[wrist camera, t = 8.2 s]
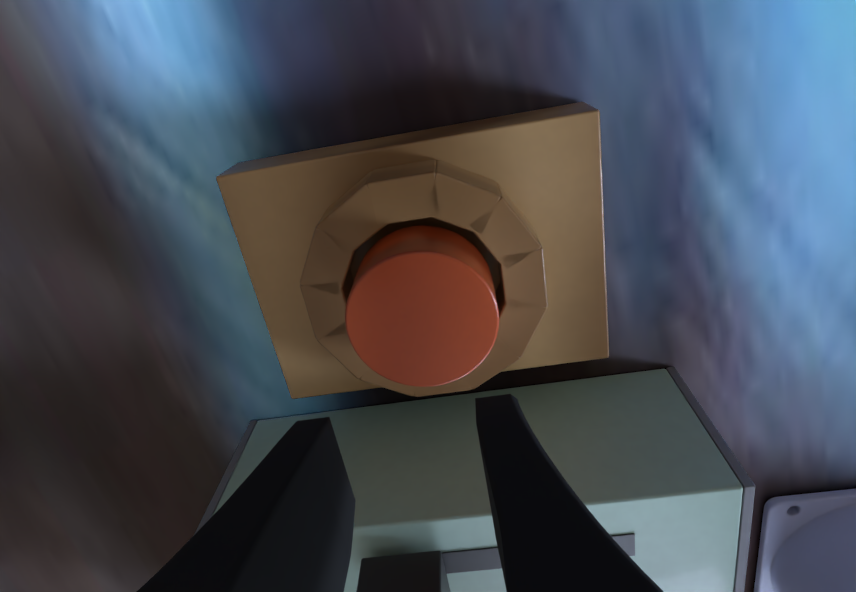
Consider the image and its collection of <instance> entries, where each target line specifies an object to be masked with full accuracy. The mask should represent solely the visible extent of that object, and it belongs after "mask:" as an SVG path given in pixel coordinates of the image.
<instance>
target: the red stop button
mask: <svg viewBox="0 0 856 592" xmlns="http://www.w3.org/2000/svg"><path fill="white" fill-rule="evenodd" d="M345 326H346V331H347V335H348V337H349V340H350V343H351V345H352V346H353V348H354V350H355V352H356V353H357V355H358V356H359V357H360V359H361V360H362V361H363V362H364V363H365V364H366V365H367V366H368V367H369V368H371V369H372V370H373V371H374V372H376V373H377V374H379V375H381V376H382V377H384V378H386V379H388V380H391V381H393V382H396V383H399V384H403V385H408V386H415V387H431V386H439V385H444V384H447V383H451V382H454V381H456V380H458V379H460V378H462V377H464V376H466V375H467V374H469V373H470V372H472V371H473V370H474V369H476V368H477V367H478V366H479V365H480V364H481V363H482V362H483V361H484V359H485V358H486V357H487V356H488V354H489V353H490V351H491V349H492V348H493V346H494V343H495V341H496V338H497V334H498V330H499V309H498V304H497V299H496V294H495V289H494V284H493V279H492V274H491V271H490V268H489V265H488V263H487V262H486V260H485V258H484V256H483V255H482V254H481V252H480V251H479V250H478V249H477V248H476V247H475V246H474V245H473V244H472V243H471V242H470V241H468V240H467V239H466V238H464V237H463V236H461V235H459V234H458V233H455V232H453V231H451V230H448V229H444V228H441V227H436V226H424V225H420V226H411V227H406V228H402V229H399V230H396V231H394V232H392V233H390V234H388V235H386V236H384V237H383V238H382V239H380V240H379V241H377V242H376V243H375V244H374V245H373V246H372V247H371V248H370V249H369V251H368V252H367V253H366V255H365V256H364V258H363V260H362V261H361V264H360V266H359V268H358V271H357V274H356V277H355V279H354V282H353V285H352V288H351V291H350V294H349V296H348V300H347V304H346V309H345Z"/></svg>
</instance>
